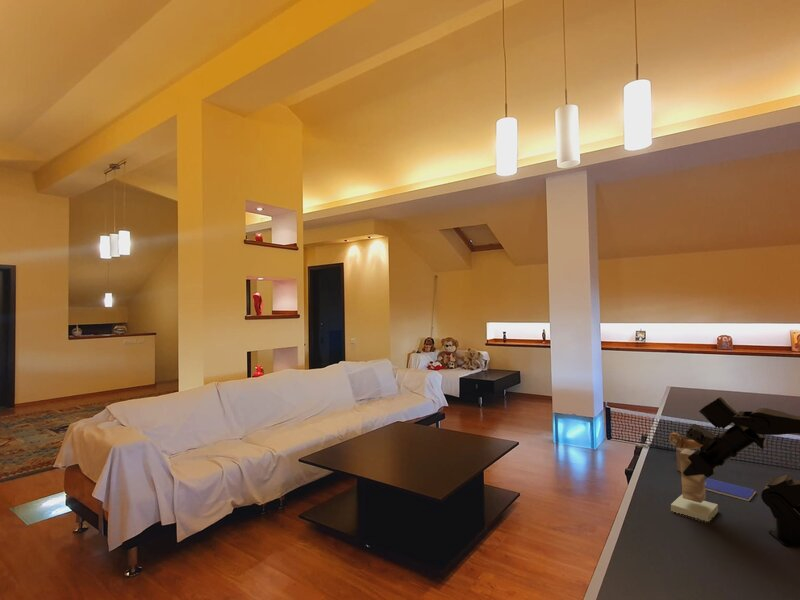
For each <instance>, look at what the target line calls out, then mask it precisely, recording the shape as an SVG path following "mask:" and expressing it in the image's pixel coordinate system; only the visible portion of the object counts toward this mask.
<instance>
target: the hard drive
mask: <svg viewBox="0 0 800 600" xmlns="http://www.w3.org/2000/svg"><path fill="white" fill-rule="evenodd" d="M705 491H708V492H712V493H716V494H720V495H724V496H728V497H731V498H735V499H739V500H743V501H746V502H750V501H751V499H753V497H754V496H755V495H756V489H752V488H749V487H744V486H740V485H737V484H733V483H729V482H725V481H721V480H716V479H713V478H710V477H706V479H705Z"/></svg>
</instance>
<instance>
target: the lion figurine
mask: <svg viewBox="0 0 800 600" xmlns="http://www.w3.org/2000/svg"><path fill="white" fill-rule="evenodd" d="M668 437H669V442H670V444H671V446H674V447H675V448H688V449H690V450H696V449H698V451H700V447H701V446H703V445H701V444H699V443H697V442H696V441H694V440H692V439H689V438H687V437H686V436H685V435H683V434H681V433H678V432H671V433H670V434H669V436H668Z"/></svg>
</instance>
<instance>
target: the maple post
mask: <svg viewBox="0 0 800 600" xmlns="http://www.w3.org/2000/svg"><path fill="white" fill-rule="evenodd" d="M695 451H696V450H694V449H690V450H688V449H684V450H683V451H682V452H680V464H681V472H680V477H681V495H682V497H683V498H684V499H688V500H691V501H695V502H699V503H702V502H703V501H705V499H707V496H706V490H705V480H706V479H705V477H706V476H704V475H693V476H685V475H684V474H683V472H684V471H685V470H686V468H687V467H688V466H689V465H690V464H691V461H690V460H689V459H688V456H690V455H691V454H692V453H694V452H695Z"/></svg>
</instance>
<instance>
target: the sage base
mask: <svg viewBox="0 0 800 600" xmlns="http://www.w3.org/2000/svg"><path fill="white" fill-rule="evenodd" d="M671 511H673V512H672V513H674V512H676V513H675V514H678V513H680V514H679V515H681V514H684V515H688V516H691V517H695V518H699V519H701V520H705V521H710V520H711V521H712V519H713V518H715V516H716V515H717V514H718V513H719V505H718V504H717V503H714V502H710V501H707V500H703V502H702V503H699V502H695V501H691V500H688V499H684V498H683V497H682V494H680V495H679V496H678V497H677V498H676V499H675V500H674V501H673V502H671V503H670V512H671ZM684 515H683V516H684ZM712 517H713V518H712ZM711 518H712V519H711ZM711 521H710V522H711Z"/></svg>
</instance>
